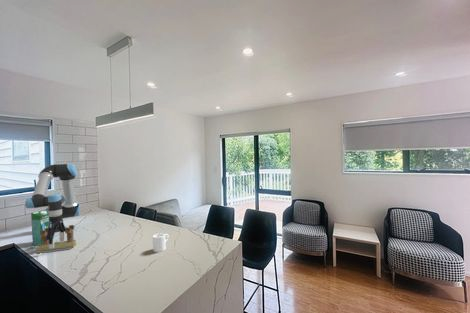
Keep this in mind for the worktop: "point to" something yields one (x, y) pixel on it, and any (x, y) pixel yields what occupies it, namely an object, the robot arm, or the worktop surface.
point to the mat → (55, 250)
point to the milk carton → (39, 225)
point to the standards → (69, 234)
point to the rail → (57, 245)
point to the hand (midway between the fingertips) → (57, 244)
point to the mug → (159, 242)
